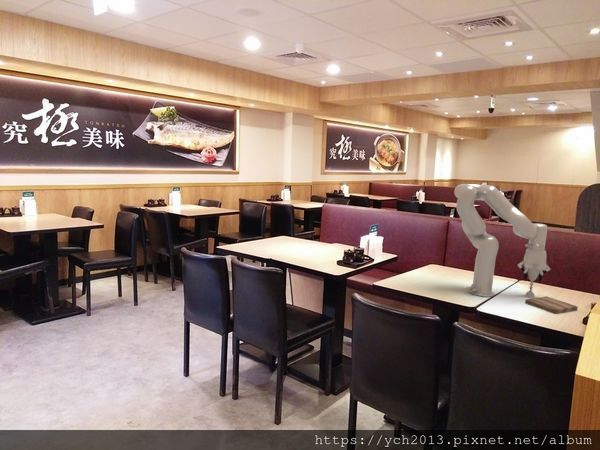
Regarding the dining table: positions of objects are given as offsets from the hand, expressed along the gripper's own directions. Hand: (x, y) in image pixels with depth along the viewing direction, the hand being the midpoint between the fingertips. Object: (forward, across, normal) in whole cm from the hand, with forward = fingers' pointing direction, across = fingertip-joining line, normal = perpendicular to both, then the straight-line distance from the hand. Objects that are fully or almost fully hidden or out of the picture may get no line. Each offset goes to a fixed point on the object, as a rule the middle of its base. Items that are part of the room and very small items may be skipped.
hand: (531, 280), depth 224 cm
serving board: (+9, +7, -14) cm, 18 cm away
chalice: (+9, 0, 0) cm, 9 cm away
